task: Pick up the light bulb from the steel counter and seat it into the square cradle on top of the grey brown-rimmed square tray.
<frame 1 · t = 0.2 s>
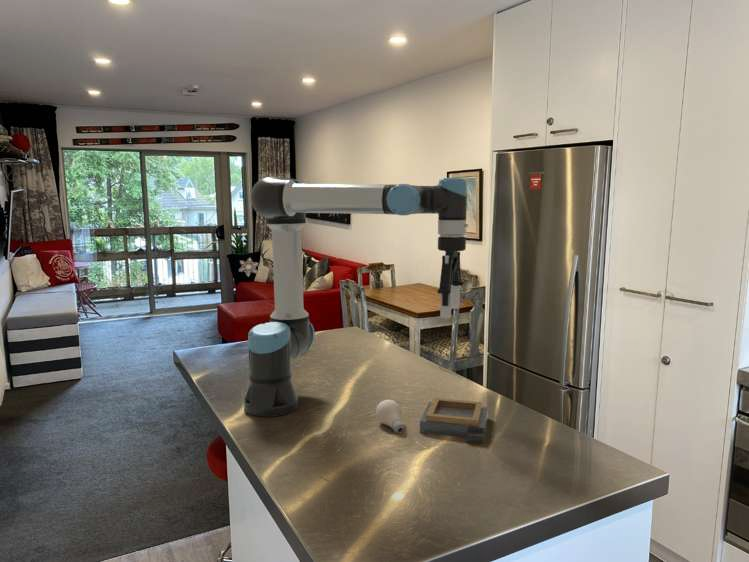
hand: (450, 312, 153), 27 cm above the worktop, fingers open, 13 cm apart
light bulb: (391, 427, 144), on the worktop
grey brown-rimmed square tray: (454, 425, 145), on the worktop
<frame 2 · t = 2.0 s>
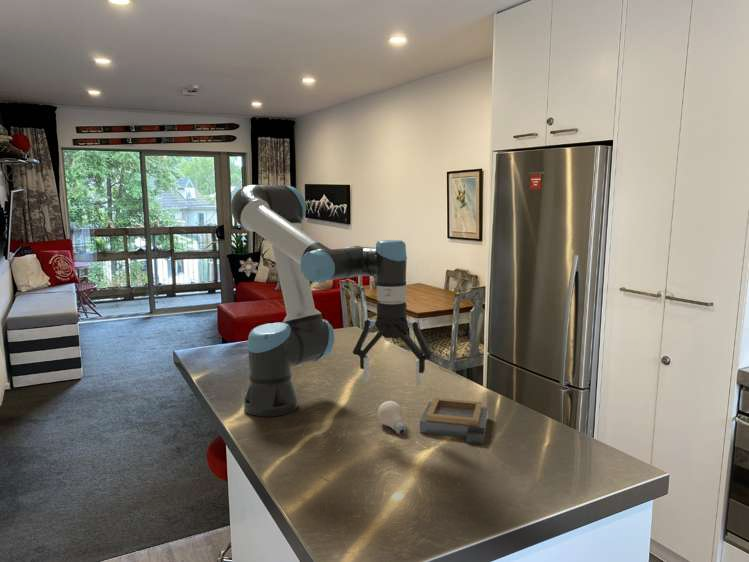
hand: (392, 383, 142), 12 cm above the worktop, fingers open, 13 cm apart
nothing on the worktop moved.
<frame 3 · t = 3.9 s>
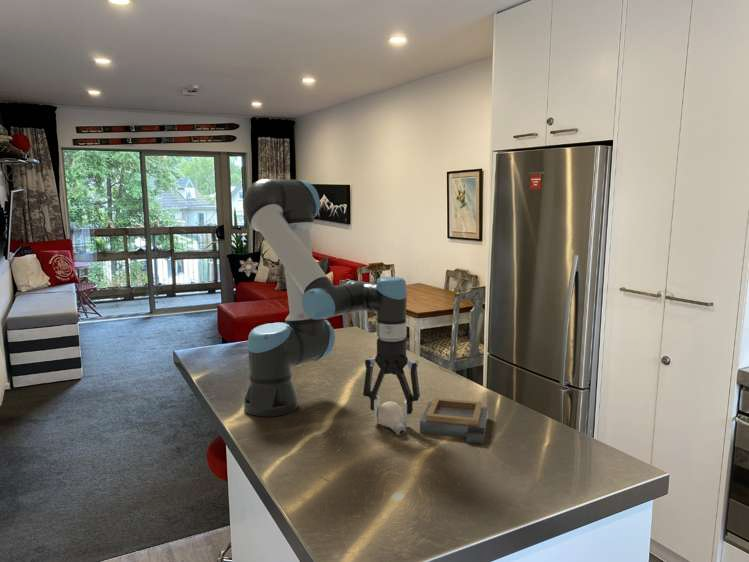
hand: (391, 423, 144), 1 cm above the worktop, fingers closed on light bulb, 7 cm apart
light bulb: (393, 429, 142), on the worktop, touching gripper
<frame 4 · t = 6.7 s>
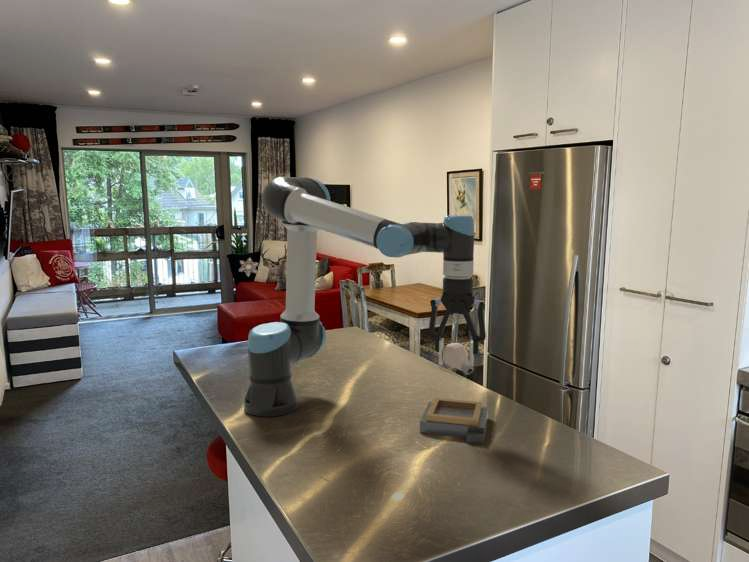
hand: (456, 365, 143), 16 cm above the worktop, fingers closed on light bulb, 7 cm apart
light bulb: (458, 370, 141), point 15 cm above the worktop, touching gripper
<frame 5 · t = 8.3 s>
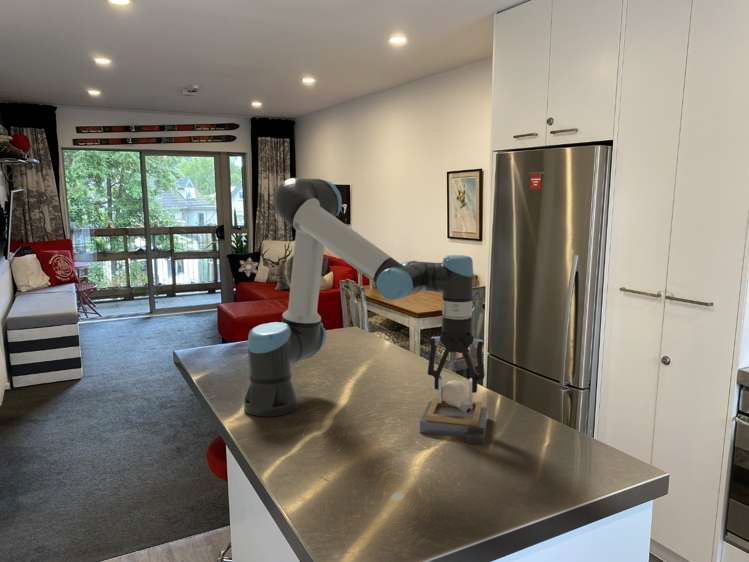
hand: (455, 402, 144), 6 cm above the worktop, fingers closed on light bulb, 7 cm apart
light bulb: (457, 408, 142), point 5 cm above the worktop, touching gripper
when the fingers open (5 cm above the worktop, at t = 9.4 s): light bulb stays where it is, resting on grey brown-rimmed square tray.
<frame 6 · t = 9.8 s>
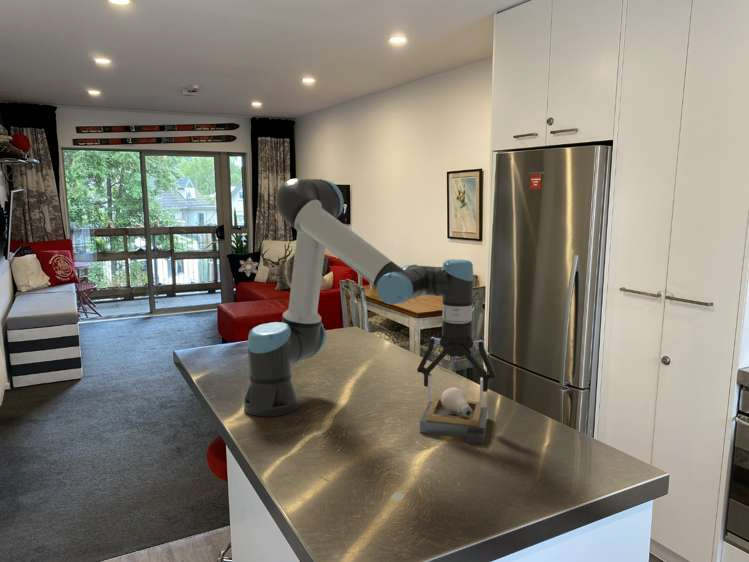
hand: (455, 400, 144), 7 cm above the worktop, fingers open, 13 cm apart
light bulb: (457, 414, 142), point 4 cm above the worktop, touching grey brown-rimmed square tray
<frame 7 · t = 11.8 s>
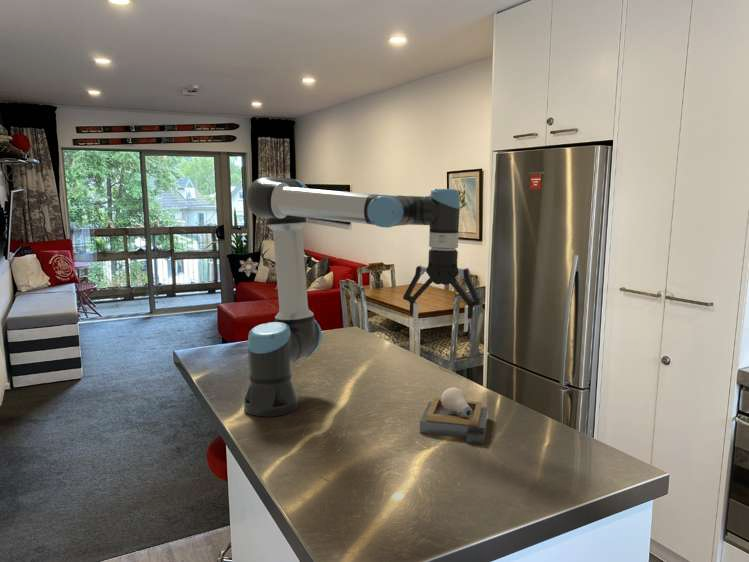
hand: (440, 328, 147), 24 cm above the worktop, fingers open, 13 cm apart
nothing on the worktop moved.
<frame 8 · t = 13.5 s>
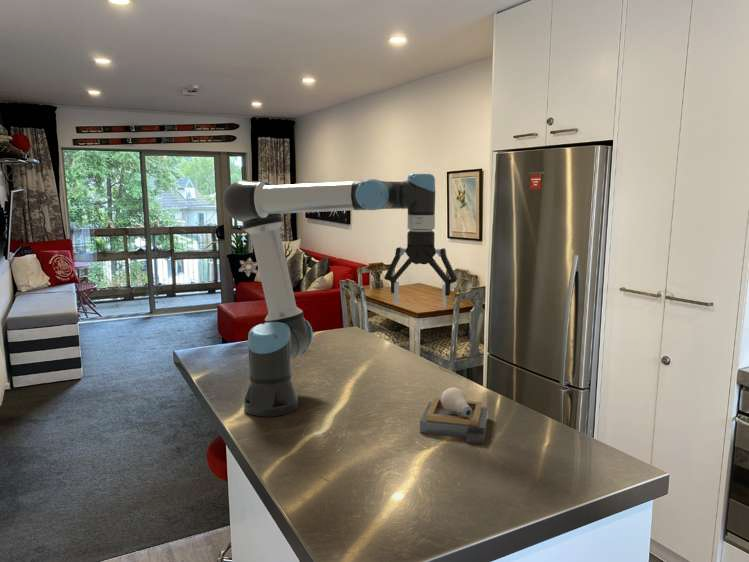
hand: (420, 306, 156), 29 cm above the worktop, fingers open, 13 cm apart
nothing on the worktop moved.
at the end: light bulb inside the target area on the grey brown-rimmed square tray (2.1 cm from its centre), point 3.7 cm above the grey brown-rimmed square tray's base; the gripper is holding nothing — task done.
